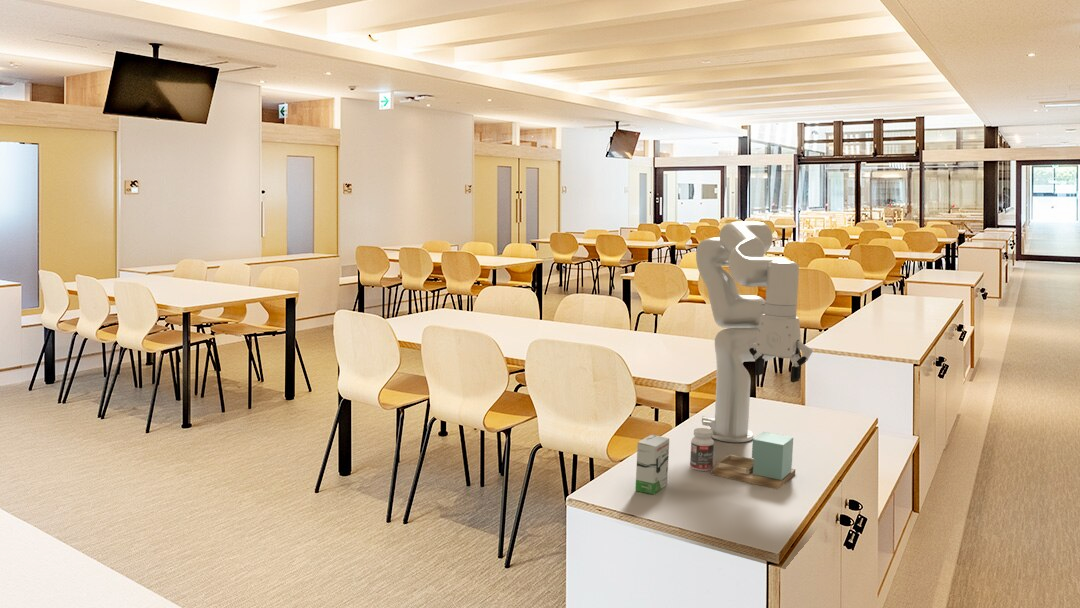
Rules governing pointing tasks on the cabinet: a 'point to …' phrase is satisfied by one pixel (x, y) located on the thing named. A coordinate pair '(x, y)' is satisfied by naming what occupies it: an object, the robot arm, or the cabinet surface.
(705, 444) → the pill bottle
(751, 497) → the cabinet surface
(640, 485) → the ink box
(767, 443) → the mint green block
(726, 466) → the board
